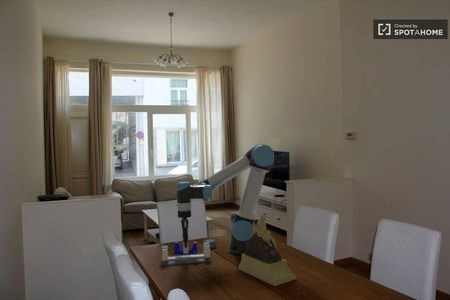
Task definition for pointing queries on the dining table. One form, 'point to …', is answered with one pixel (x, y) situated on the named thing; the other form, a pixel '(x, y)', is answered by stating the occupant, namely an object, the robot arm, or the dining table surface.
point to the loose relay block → (211, 243)
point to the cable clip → (179, 249)
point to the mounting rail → (186, 259)
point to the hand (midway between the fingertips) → (185, 251)
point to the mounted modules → (205, 249)
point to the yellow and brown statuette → (265, 258)
